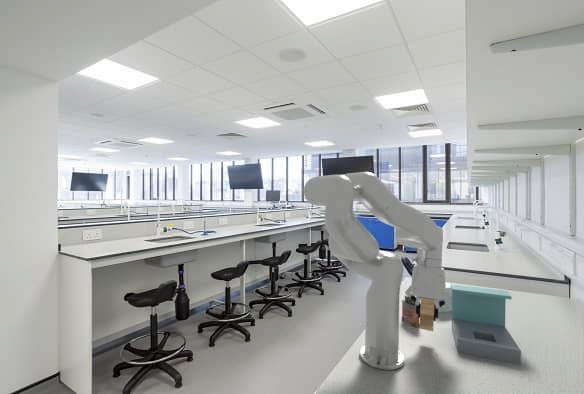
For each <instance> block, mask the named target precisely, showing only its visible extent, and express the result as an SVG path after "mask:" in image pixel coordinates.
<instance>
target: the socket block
mask: <svg viewBox="0 0 584 394" xmlns="http://www.w3.org/2000/svg"><path fill="white" fill-rule="evenodd" d="M451 290H452V311H451V330H452V335H453V340H454V344H455V349H456V352H458V353H464V354H466V355H467V354H468V355H473V356H476V357H477V356H478V357H482V358H487V359H491V360H492V359H493V360H497V361H502V362H507V363H512V364H517V365H522V364H521V363H522V362H521V361H522V359H521V358H522V350H521V349H520V347H519V346H518V344H517V343H516V341H515V339H514V338H513V337H512V335H511V333H510V331H509V330H508V329H507V327H506V300H512V295H511V294H510V293H509V291H506V290H500V289H492V288H483V287H474V286H465V285H460V284H459V285H457V284H452V285H451Z"/></svg>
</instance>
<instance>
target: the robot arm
mask: <svg viewBox="0 0 584 394" xmlns="http://www.w3.org/2000/svg"><path fill="white" fill-rule="evenodd" d="M303 196H304V198H305V200H306V201H307V202H308V203H309V204H311V205H313V206H317V207H325V208H324V227H325V229H326V232H327V233H328V234H329V235H328V236H329V237H328V240H327V241H328V248H329V250H330V252H331V253H332V255H333V256H334V257H335V258H336V259H337V260H338V261H339V262H340V263H342V265H343V266H345V267H346V269H348V270H349V271H350V272H351V273H353V274H354V275H356V276H358V277H360V278H363V279H365V280H369V281H371V284H370V286H369V287H368V289H367V292H366V294H365V320H364V321H365V324H364V326H365V327H364V328H365V329H364V330H365V331H364V332H365V334H364V338H365V339H364V345H363V346H361V348H360V349H359V357H360V359H361V360H362V361H363V362H364V363H365V364H367V365H369V366H370V367H373V368H375V369H379V370H386V371H391V370H397V369H399V368H401V367H403V366H404V364H405V357H404V356H405V355H404V354H403V353H402V352H401V351H400V349H399V348H400V347H399V346H400V345H399V344H400V343H399V342H400V341H399V340H400V335H399V334H400V294H401V293H400V292H401V284H402V280H403V276H404V264H403V262H402V260H401V259H400V258H399V256H397V255H396V254H394V253H392V252H389V251H387V250H386V251H384V250H380V246H379V245H380V244H379V243H378V241H377V239H376V237H374V235H373V234H372V233H371V232H370V231H369V230H368V229H367V227H365V226H364V225H363V223H362V222H360V221H359V219H358V218H357V217H356V215H355V213H354V202H358V203H360V204H362V205H363V207H364V208H366V209H367V210H368V211H369V212H370V213H371V214H372V215H373V216H374V218H376V219H377V220H379V221H380V222H382V223H383V224H386V225H388V226H390V227H394V228H396V230H395V232H394V233H395V234H394V237H395V239H396V241H397V243H398V244H400V245H401V246H404V247H407V248H411V249H412V248H413V249H416V256H415V257H414V256H413V257H412V258H411V259H412V262H415V263H416V264H414V265H413V268H412V275H411V284H410V285H409V287H408V288H407V289H405V291H404V294H405V296H406V295H407V296H409V297H410V298H411V299H412V300H413V301H414V303H415V304H416V314H418V318H419V319H420V306H421V297H422V298H427V299H433V300H435V305H434V322H436V321H437V319H439V313H438V309H439V308H440V307H441V306H443V305H444V304H446V303H449V302H451V298H450V296H449V295H448V293H447V292H446V283H447V282H446V271H445V269H444V267H442V265H443V243H444V231H443V228H442V226H439V225H437V224H436V223H435V221H434V220H433V219H432V218H431V217H430V216H428V215H427V214H425V213H424V212H422V211H420V210H419V209H417V208H415V207H413V206H412V205H409V204H407V203H406V202H404V201H401V200H400V199H399V198H398V197H397V196H396V195H395V194H394V193H393V192H392V191H391V189H390V188H389V187H387V185H386V184H385V183H384V182H383V181H382V180H381V179H380V178H379V177H378V176H377V175H376V174H374V173H373V172H369V171H359V172H352V173H351V172H349V173H345V174H329V175H319V176H313V177H312V178H310V179H308V180H307V181H306V183H305V185H304V187H303ZM439 300H440V301H439Z"/></svg>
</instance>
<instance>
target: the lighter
mask: <svg viewBox="0 0 584 394" xmlns="http://www.w3.org/2000/svg"><path fill="white" fill-rule="evenodd" d="M401 304H402V305H401V321H402V322H404V323H405V324H407V325H409V326H411V327H413V328H420V318H418V314H416V304H415V303H414V301H413V300H412V299H411V298H410V297H409V296H407V295H406V294H405V295H404V299H402V300H401Z"/></svg>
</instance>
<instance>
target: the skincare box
mask: <svg viewBox="0 0 584 394" xmlns="http://www.w3.org/2000/svg"><path fill="white" fill-rule="evenodd" d="M445 283H446V292H447V293H448V295H449V296H450V298H451V302H449V303H446V304H444V305H443V306H441V307H440V308H439V309H438V314H439V313H440V314H441V313H448V312H452V290H451V285H453V284H451V283H448V282H445ZM439 301H440V300H439ZM434 305H435V300H434Z"/></svg>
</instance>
